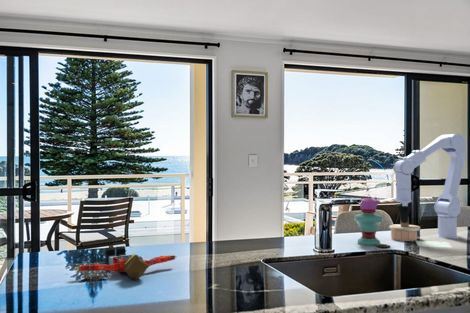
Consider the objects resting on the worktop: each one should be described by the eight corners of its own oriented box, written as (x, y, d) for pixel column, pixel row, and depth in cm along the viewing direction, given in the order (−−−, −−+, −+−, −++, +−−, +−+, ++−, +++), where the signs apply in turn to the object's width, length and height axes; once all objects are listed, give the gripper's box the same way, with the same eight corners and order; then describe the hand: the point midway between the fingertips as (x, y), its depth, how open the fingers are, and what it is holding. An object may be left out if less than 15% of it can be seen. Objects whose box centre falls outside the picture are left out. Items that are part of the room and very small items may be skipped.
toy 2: (386, 242, 182) (385, 198, 182) (378, 247, 172) (378, 200, 173) (359, 240, 187) (359, 196, 187) (351, 244, 178) (350, 199, 178)
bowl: (390, 237, 195) (390, 226, 195) (415, 238, 192) (415, 227, 192) (391, 241, 185) (391, 230, 185) (418, 242, 182) (418, 231, 182)
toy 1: (67, 275, 145) (82, 290, 119) (66, 251, 146) (81, 260, 119) (159, 264, 159) (191, 275, 133) (159, 242, 160) (190, 248, 134)
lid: (388, 226, 196) (388, 214, 196) (418, 227, 192) (418, 215, 192) (390, 230, 184) (389, 218, 184) (421, 231, 181) (421, 219, 181)
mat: (415, 241, 183) (415, 240, 183) (447, 243, 180) (447, 241, 180) (418, 247, 172) (418, 246, 172) (452, 249, 168) (452, 247, 168)
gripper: (392, 187, 196) (392, 219, 196) (394, 190, 183) (394, 223, 183) (410, 188, 194) (410, 219, 194) (413, 190, 181) (413, 224, 181)
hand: (403, 221), depth 188 cm, fingers open, 4 cm apart
